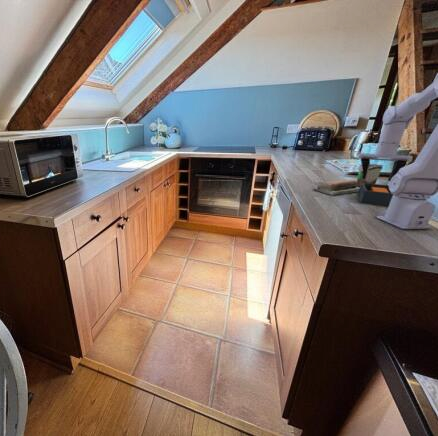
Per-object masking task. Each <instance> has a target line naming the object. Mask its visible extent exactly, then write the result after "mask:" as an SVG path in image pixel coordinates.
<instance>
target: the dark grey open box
mask: <svg viewBox="0 0 438 436" xmlns="http://www.w3.org/2000/svg"><path fill="white" fill-rule="evenodd" d="M371 187H378V188H386V189H387V191H388V192H389V193H386V192H377V191H370V190H371ZM359 188H360V189H359V192H357V195H358V199H359V201H360V203H361V204H368V205H375V206H383V207H389V204H390V202H391V199H392V196H393V194H392V193H391V192H390V190H389V184H380V183H376V184H370V183H361V185H360V187H359Z"/></svg>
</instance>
